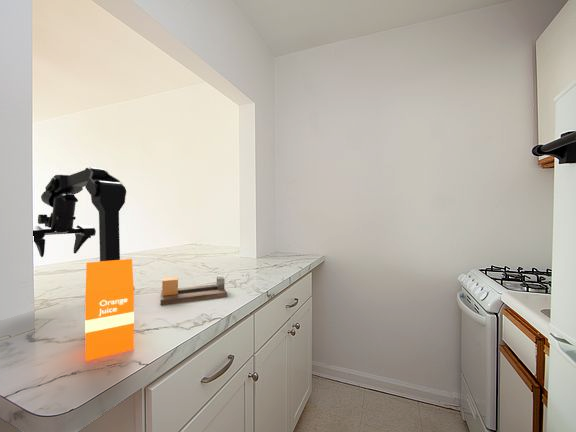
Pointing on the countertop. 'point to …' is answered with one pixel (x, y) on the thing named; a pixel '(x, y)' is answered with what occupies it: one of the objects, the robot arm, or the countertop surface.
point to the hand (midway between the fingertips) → (58, 254)
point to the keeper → (169, 286)
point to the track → (196, 293)
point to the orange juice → (109, 308)
